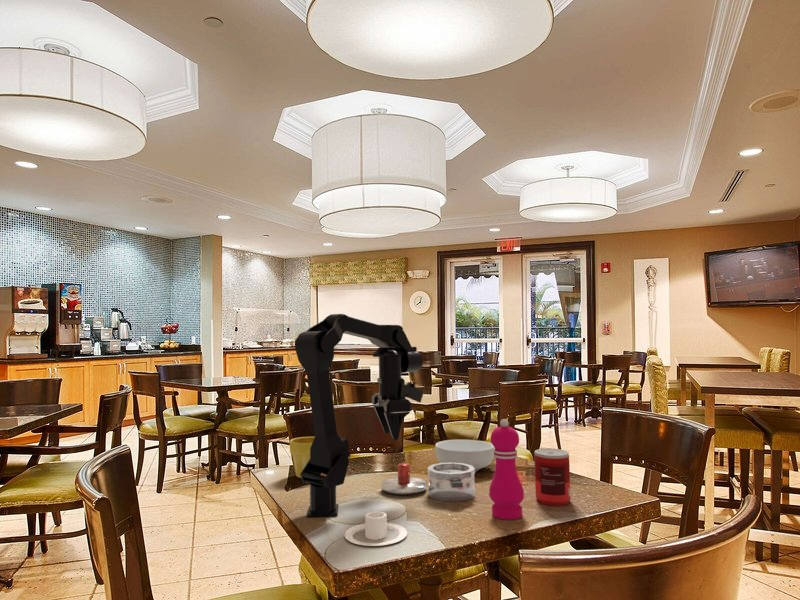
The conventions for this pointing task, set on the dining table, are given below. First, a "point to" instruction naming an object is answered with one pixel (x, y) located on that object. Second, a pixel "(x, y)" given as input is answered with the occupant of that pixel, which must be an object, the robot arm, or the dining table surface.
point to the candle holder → (375, 529)
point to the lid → (404, 482)
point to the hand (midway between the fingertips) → (391, 436)
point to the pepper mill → (505, 474)
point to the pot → (451, 481)
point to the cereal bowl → (465, 452)
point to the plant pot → (300, 452)
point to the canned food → (552, 476)
